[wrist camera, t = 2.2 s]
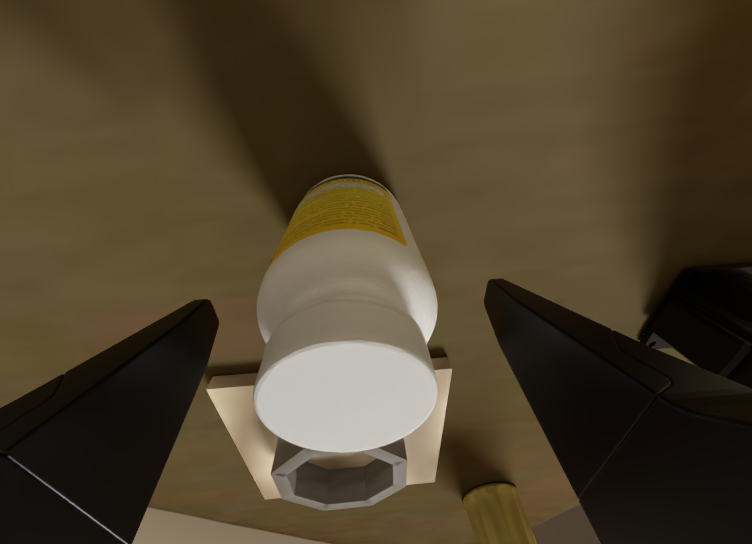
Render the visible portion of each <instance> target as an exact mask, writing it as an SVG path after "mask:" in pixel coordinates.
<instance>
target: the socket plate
mask: <svg viewBox="0 0 752 544" xmlns="http://www.w3.org/2000/svg"><path fill="white" fill-rule="evenodd" d="M431 361H432V365H433V368H434V371H435V375H436V379H437V385H438V394H437V400H436V403H435V406H434V408H433V410H432V412H431V414H430V415H429V417H428V418H427V419H426V420H425V421H424V422H423V423H422V424H421V425H420V426H419V427H418V428H417V429H415V430H414V431H413V432H412V433H410V434H408V435H407V436H405V437H403V438H401V439H399V440H397V441H395V442H393V443H390V444H387V445H385V446H381V447H378V448H374V449H369V450H364V451H358V452H343V453H341V452H324V451H317V450H312V449H308V448H304V447H300V446H298V445H295V444H292V443H290V442H288V441H286V440H284V439H282V438H280V437H279V436H277V435H276V434H274V433H273V432H271V431H270V430H269V429H268V428H267V427H266V426H265V425H264V424H263V422H262V421H261V420H260V418H259V417H258V415H257V413H256V410H255V406H254V402H253V390H254V385H255V381H256V378H257V375H258V373H248V374H236V375H224V376H213V377H212V379H211V381H210V383H209V385H208V387H207V389H206V390H207V392H208V394H209V396H210V398H211V399H212V401H213V403H214V405H215V407H216V409H217V411H218V413H219V414H220V416H221V418H222V420H223V422H224V424H225V426H226V427H227V429H228V431H229V433H230V435H231V437H232V439H233V441H234V442H235V444H236V446H237V448H238V450H239V452H240V454H241V456H242V457H243V459H244V461H245V463H246V465H247V467H248V469H249V471H250V472H251V474H252V476H253V478H254V480H255V482H256V484H257V485H258V487H259V489H260V491H261V493H262V495H263V497H264V499H274V498H282V499H283V500H287V501H291V502H294V503H298V504H301V505H305V506H309V507H312V508H316V509H320V510H324V511H325V510H334V509H344V508H353V507H362V506H371V505H374V504H375V503H377V502H379V501H381V500H383V499H384V498H386V497H388V496H390V495H391V494H393V493H395V492H397V491H399V490H400V489H402V488H404V487H406V485H410V484H419V483H429V482H435V477H436V470H437V464H438V457H439V451H440V444H441V438H442V432H443V425H444V419H445V412H446V406H447V399H448V393H449V387H450V380H451V374H452V366H451V364H450V361H449V358H448V357H442V358H431Z"/></svg>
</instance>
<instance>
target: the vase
mask: <svg viewBox="0 0 752 544" xmlns="http://www.w3.org/2000/svg"><path fill="white" fill-rule="evenodd" d="M463 503H464V506H465V508H466V510H467V513H468V516H469V519H470V522H471V525H472V529H473V532H474V535H475V537H476V540H477V543H478V544H537V543H536V540H535V537H534V535H533V533H532V530H531V528H530V525H529V522H528V519H527V517H526V514H525V511H524V508H523V506H522V503H521V500H520V498H519V494H518V490H517V489H516V488H515V487H514V486H513V485H510V484H507V483H490V484H485V485H482V486H479V487H476V488H474V489H472V490H471V491H469V492H468V493H467V494H466V495H465V497H464V499H463Z"/></svg>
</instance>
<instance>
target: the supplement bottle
mask: <svg viewBox="0 0 752 544" xmlns="http://www.w3.org/2000/svg"><path fill="white" fill-rule="evenodd" d="M436 319H437V297H436V292H435V289H434V286H433V283H432V280H431V277H430V274H429V272H428V269H427V267H426V264H425V262H424V260H423V258H422V255H421V253H420V251H419V249H418V246H417V244H416V242H415V240H414V237H413V235H412V233H411V230H410V228H409V225H408V223H407V221H406V219H405V216H404V214H403V211H402V209H401V207H400V206H399V204H398V202H397V200H396V199H395V197H394V196H393V195H392V194H391V192H390V191H389V190H388V189H386V188H385V187H384V186H383V185H381V184H380V183H378V182H376V181H374V180H372V179H370V178H367V177H364V176H360V175H352V174H346V175H338V176H333V177H330V178H327V179H325V180H323V181H321V182H319V183H318V184H316V185H315V186H313V187H312V188H311V189H310V190H309V191H308V192H307V193H306V195H305V196H304V197H303V199H302V200H301V201H300V203H299V204H298V206H297V208H296V210H295V212H294V214H293V216H292V219H291V221H290V223H289V225H288V227H287V229H286V231H285V234H284V236H283V238H282V240H281V242H280V244H279V246H278V248H277V250H276V252H275V255H274V257H273V259H272V261H271V263H270V265H269V267H268V269H267V271H266V274H265V276H264V278H263V281H262V284H261V287H260V290H259V294H258V299H257V320H258V325H259V328H260V332H261V334H262V337H263V339H264V341H265V342H266V347H265V350H264V355H263V359H262V362H261V366H260V369H259V372H258V375H257V378H256V381H255V385H254V390H253V402H254V406H255V410H256V413H257V415H258V417H259V418H260V420H261V421H262V422H263V424H264V425H265V426H266V427H267V428H268V429H269V430H270V431H271V432H273V433H274V434H276V435H277V436H279V437H280V438H282V439H284V440H286V441H288V442H290V443H292V444H295V445H298V446H300V447H304V448H308V449H312V450H317V451H324V452H341V453H343V452H358V451H364V450H369V449H374V448H378V447H381V446H385V445H387V444H390V443H393V442H395V441H397V440H399V439H401V438H403V437H405V436H407V435H408V434H410V433H412V432H413V431H414V430H415V429H417V428H418V427H419V426H420V425H421V424H422V423H423V422H424V421H425V420H426V419H427V418H428V417H429V415H430V414H431V412H432V410H433V408H434V406H435V403H436V400H437V394H438V385H437V379H436V375H435V371H434V368H433V365H432V361H431V358H430V354H429V350H428V347H427V342H428V341H429V339H430V337H431V335H432V332H433V330H434V327H435V324H436Z"/></svg>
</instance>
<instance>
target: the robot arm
mask: <svg viewBox="0 0 752 544" xmlns="http://www.w3.org/2000/svg"><path fill="white" fill-rule="evenodd" d="M484 305H485V308H486V311H487V314H488V316H489V319H490V322H491V324H492V327H493V330H494V332H495V335H496V338H497V340H498V343H499V345H500V347H501V349H502V351H503V353H504V355H505V357H506V359H507V361H508V363H509V365H510V367H511V369H512V371H513V373H514V375H515V377H516V379H517V381H518V383H519V384H520V386H521V388H522V390H523V392H524V394H525V396H526V398H527V400H528V402H529V404H530V406H531V408H532V410H533V412H534V414H535V416H536V418H537V420H538V422H539V423H540V425H541V427H542V429H543V431H544V433H545V435H546V437H547V439H548V441H549V443H550V445H551V447H552V449H553V451H554V453H555V455H556V457H557V459H558V460H559V462H560V464H561V466H562V468H563V470H564V472H565V474H566V476H567V478H568V480H569V482H570V484H571V486H572V488H573V490H574V492H575V494H576V496H577V497H578V499H580V500H579V502H580V504H581V506H582V508H583V510H584V512H585V514H586V515H587V517H588V519H589V521H590V523H591V525H592V527H593V529H594V531H595V533H596V535H597V537H598V539H599V541H600V543H601V544H752V263H747V264H733V265H719V266H705V267H692V268H689V269H687V270H685V271H684V272H683V273H682V274H681V276H680V277H679V279H678V280H677V282H676V284H675V285H674V287H673V289H672V290H671V292H670V294H669V295H668V297H667V298H666V300H665V302H664V303H663V305H662V307H661V308H660V310H659V311H658V313H657V315H656V316H655V318H654V320H653V321H652V323H651V324H650V326H649V328H648V329H647V331H646V333H645V334H644V336H643V337H642V339H641V341H640V342H638V341H636V340H634V339H632V338H629V337H627V336H625V335H623V334H621V333H619V332H616V331H612V330H611V329H610V328H608V327H606V326H603V325H601V324H599V323H597V322H595V321H593V320H590V319H588V318H586V317H584V316H582V315H580V314H577V313H575V312H573V311H571V310H569V309H567V308H564V307H562V306H560V305H558V304H556V303H554V302H552V301H549V300H547V299H545V298H543V297H541V296H539V295H536V294H534V293H532V292H530V291H528V290H526V289H524V288H521V287H519V286H517V285H515V284H513V283H511V282H508V281H506V280H504V279H490V280H489V281H488V283H487V288H486V293H485V298H484ZM218 326H219V320H218V317H217V315H216V312H215V310H214V308H213V305H212V303H211V301H210V300H208V299H201V300H194V301H192V302H190V303H188V304H186V305H185V306H183V307H181V308H179V309H178V310H176V311H174V312H172V313H170V314H169V315H167V316H165V317H163V318H161V319H160V320H158V321H156V322H154V323H153V324H151V325H149V326H147V327H145V328H144V329H142V330H140V331H138V332H137V333H135V334H133V335H131V336H129V337H128V338H126V339H124V340H122V341H121V342H119V343H117V344H115V345H113V346H112V347H110V348H108V349H106V350H105V351H103V352H101V353H99V354H97V355H96V356H94V357H92V358H90V359H89V360H87V361H85V362H83V363H81V364H80V365H78V366H76V367H74V368H73V369H71V370H69V371H67V372H66V373H65V375H64V374H62V375H60V376H58V377H56V378H55V379H53V380H51V381H49V382H47V383H46V384H44V385H42V386H40V387H38V388H37V389H35V390H33V391H31V392H29V393H28V394H26V395H24V396H22V397H20V398H18V399H17V400H15V401H13V402H11V403H9V404H7V405H5V406H3V407H1V408H0V544H132V542H133V540H134V538H135V535H136V533H137V531H138V528H139V526H140V523H141V521H142V519H143V516H144V514H145V512H146V509H147V507H148V505H149V502H150V500H151V497H152V495H153V493H154V490H155V488H156V486H157V483H158V481H159V479H160V476H161V474H162V471H163V469H164V467H165V464H166V462H167V460H168V457H169V455H170V453H171V450H172V448H173V445H174V443H175V441H176V438H177V436H178V434H179V431H180V429H181V427H182V424H183V422H184V419H185V417H186V415H187V412H188V410H189V408H190V405H191V403H192V401H193V398H194V396H195V393H196V391H197V389H198V386H199V384H200V382H201V379H202V377H203V374H204V372H205V369H206V366H207V363H208V360H209V357H210V354H211V350H212V347H213V343H214V340H215V337H216V333H217V330H218ZM661 348H673V349H675V350H676V351H677V352H679V353H680V354H681V355H683V356H684V357H685V358H686V359H688V360H689V361H690V362H692V363H693V364H694V365H693V364H690V363H688V362H685V361H683V360H680V359H678V358H676V357H673V356H671V355H668V354H666V353H664V352H661V351H659V350H656V349H661Z"/></svg>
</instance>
